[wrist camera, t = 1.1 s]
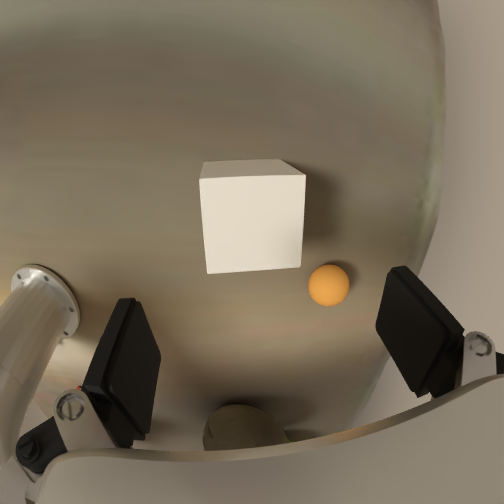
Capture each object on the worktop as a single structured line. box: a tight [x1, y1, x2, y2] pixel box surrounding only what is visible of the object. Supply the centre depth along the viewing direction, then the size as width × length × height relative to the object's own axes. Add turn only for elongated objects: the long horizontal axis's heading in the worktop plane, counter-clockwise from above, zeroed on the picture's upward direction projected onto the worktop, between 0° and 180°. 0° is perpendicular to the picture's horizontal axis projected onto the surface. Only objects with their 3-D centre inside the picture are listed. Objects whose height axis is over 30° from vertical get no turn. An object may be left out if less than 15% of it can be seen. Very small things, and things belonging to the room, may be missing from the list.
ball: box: [308, 265, 349, 306], centre depth 32 cm, size 5×5×5 cm
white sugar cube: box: [199, 159, 306, 274], centre depth 25 cm, size 8×8×9 cm
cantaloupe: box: [203, 404, 288, 451], centre depth 39 cm, size 14×14×15 cm
